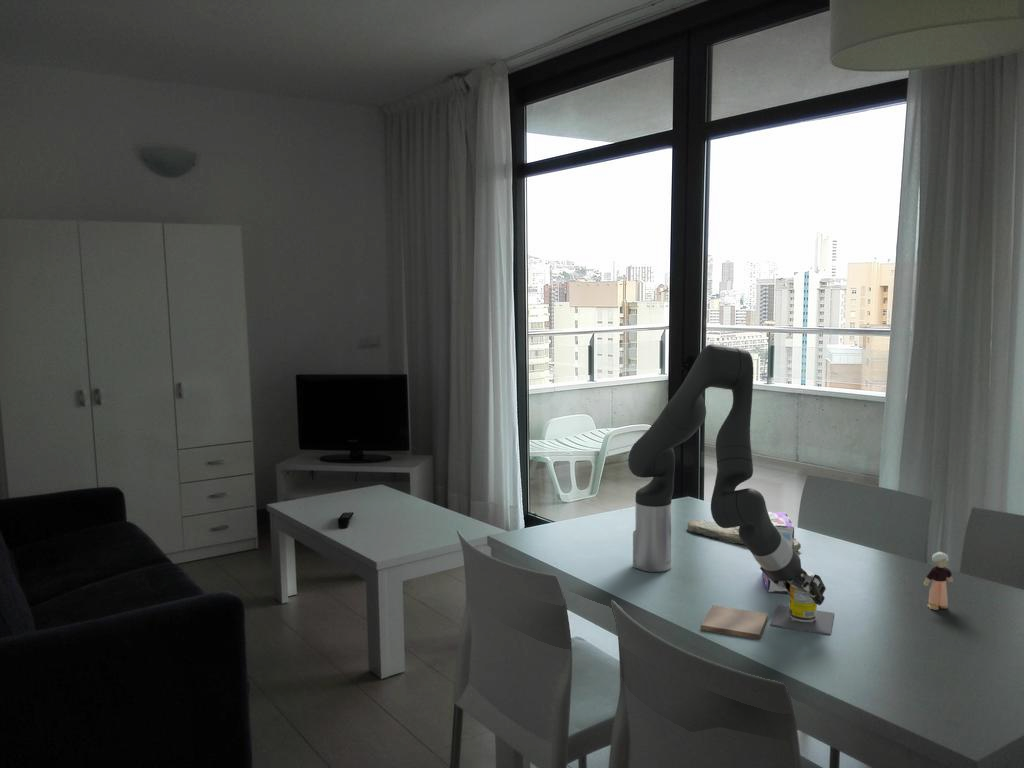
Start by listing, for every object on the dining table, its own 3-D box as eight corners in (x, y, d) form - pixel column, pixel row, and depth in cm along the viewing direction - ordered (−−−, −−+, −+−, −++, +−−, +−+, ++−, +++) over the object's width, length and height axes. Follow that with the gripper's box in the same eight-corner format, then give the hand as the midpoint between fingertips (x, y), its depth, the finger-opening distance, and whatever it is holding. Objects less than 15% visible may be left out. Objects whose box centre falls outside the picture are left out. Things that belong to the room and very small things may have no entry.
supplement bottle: (794, 611, 176) (795, 566, 175) (820, 617, 172) (821, 571, 171) (785, 619, 172) (786, 573, 171) (810, 625, 168) (812, 579, 167)
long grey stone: (698, 530, 246) (680, 539, 239) (697, 513, 245) (679, 521, 238) (807, 547, 221) (791, 558, 214) (806, 529, 220) (790, 539, 213)
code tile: (770, 625, 169) (770, 624, 169) (777, 605, 180) (777, 604, 180) (830, 635, 164) (830, 633, 164) (834, 614, 175) (834, 612, 175)
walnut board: (700, 629, 168) (700, 625, 168) (712, 609, 178) (712, 605, 178) (759, 639, 162) (759, 634, 162) (767, 618, 173) (767, 613, 173)
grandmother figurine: (935, 612, 175) (938, 557, 174) (919, 607, 178) (922, 552, 177) (957, 606, 178) (960, 551, 177) (941, 600, 182) (943, 547, 181)
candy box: (793, 594, 187) (795, 526, 185) (767, 593, 188) (768, 525, 186) (785, 574, 200) (786, 511, 199) (761, 573, 202) (762, 510, 200)
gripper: (813, 547, 160) (845, 592, 168) (754, 531, 172) (788, 573, 180) (796, 578, 158) (830, 622, 165) (738, 560, 169) (772, 601, 177)
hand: (808, 596), depth 173 cm, fingers closed on supplement bottle, 5 cm apart
